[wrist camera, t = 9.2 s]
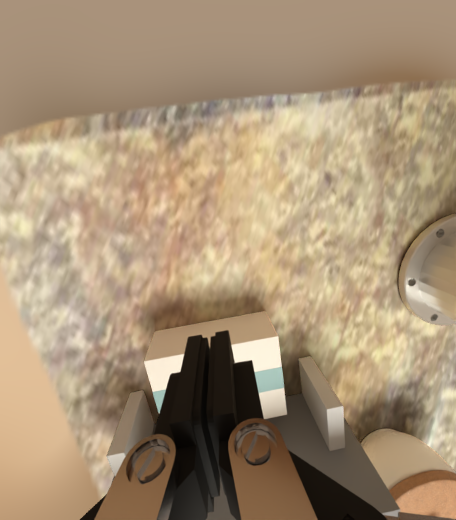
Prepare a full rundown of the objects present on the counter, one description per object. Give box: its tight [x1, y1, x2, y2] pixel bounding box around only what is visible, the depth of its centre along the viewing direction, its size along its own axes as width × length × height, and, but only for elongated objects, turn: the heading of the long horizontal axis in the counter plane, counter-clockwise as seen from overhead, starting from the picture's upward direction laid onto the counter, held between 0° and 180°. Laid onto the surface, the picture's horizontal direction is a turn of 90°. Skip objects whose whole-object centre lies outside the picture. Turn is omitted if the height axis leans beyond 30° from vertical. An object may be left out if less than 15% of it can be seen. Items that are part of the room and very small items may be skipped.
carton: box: [144, 311, 287, 419], centre depth 25 cm, size 12×9×5 cm
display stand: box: [107, 356, 400, 520], centre depth 24 cm, size 24×8×12 cm, turn 100°
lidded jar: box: [361, 428, 456, 519], centre depth 29 cm, size 11×11×9 cm
